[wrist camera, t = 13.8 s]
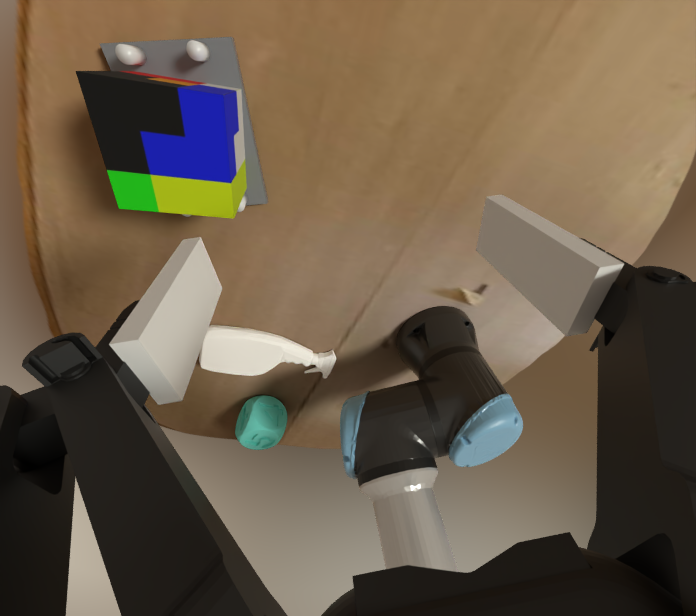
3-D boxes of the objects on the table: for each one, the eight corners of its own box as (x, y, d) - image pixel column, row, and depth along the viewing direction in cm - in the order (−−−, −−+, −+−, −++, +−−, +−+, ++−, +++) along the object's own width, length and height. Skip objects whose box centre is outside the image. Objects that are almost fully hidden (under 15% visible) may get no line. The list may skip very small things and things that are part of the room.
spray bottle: (205, 318, 50) (341, 339, 58) (200, 361, 56) (324, 375, 64) (201, 329, 48) (344, 350, 56) (196, 373, 54) (326, 387, 62)
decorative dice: (254, 390, 63) (250, 425, 57) (288, 400, 67) (287, 434, 61) (238, 410, 67) (232, 445, 60) (270, 419, 70) (268, 453, 64)
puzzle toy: (241, 89, 31) (223, 94, 24) (246, 187, 37) (234, 218, 29) (133, 71, 29) (75, 70, 22) (157, 178, 35) (118, 208, 27)
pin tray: (268, 200, 40) (265, 211, 36) (174, 209, 39) (162, 221, 35) (233, 38, 30) (225, 33, 26) (105, 44, 29) (81, 41, 26)
